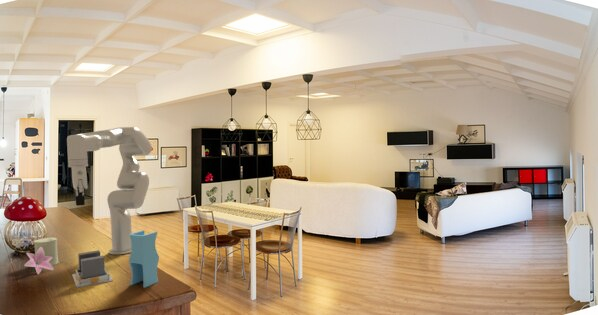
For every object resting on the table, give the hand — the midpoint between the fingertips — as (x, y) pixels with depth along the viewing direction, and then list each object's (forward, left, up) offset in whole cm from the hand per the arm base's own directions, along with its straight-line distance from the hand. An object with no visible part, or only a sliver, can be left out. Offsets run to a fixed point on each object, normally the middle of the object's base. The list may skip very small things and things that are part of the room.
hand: (80, 205), depth 179 cm
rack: (-1, +14, -29) cm, 32 cm away
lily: (+16, -11, -29) cm, 35 cm away
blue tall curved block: (-18, +34, -29) cm, 48 cm away
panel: (-1, +19, -28) cm, 34 cm away
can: (+13, -22, -29) cm, 39 cm away
